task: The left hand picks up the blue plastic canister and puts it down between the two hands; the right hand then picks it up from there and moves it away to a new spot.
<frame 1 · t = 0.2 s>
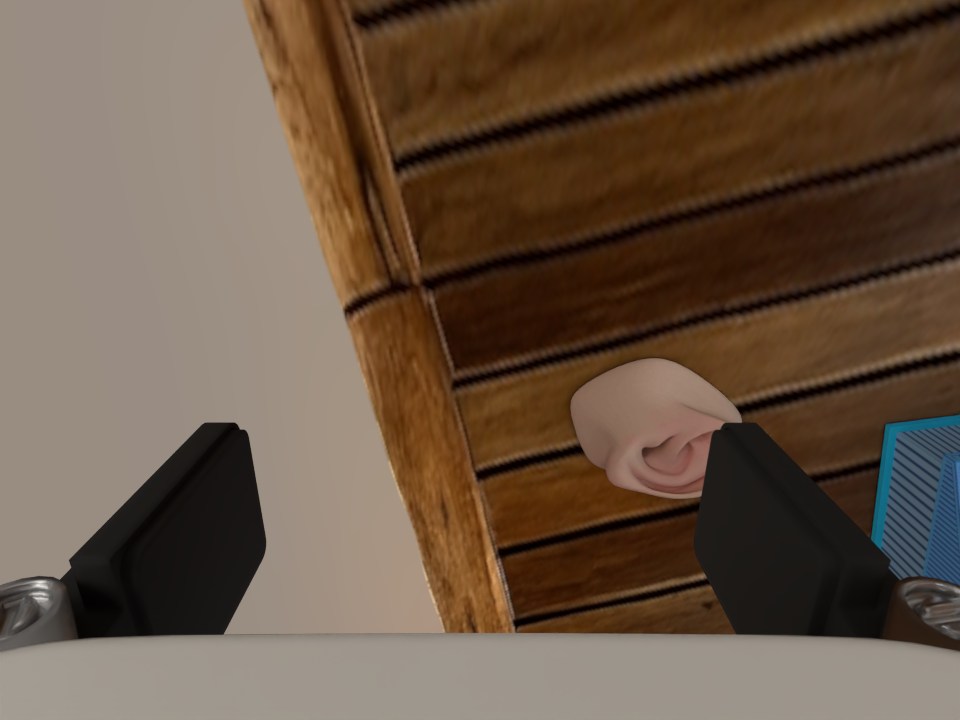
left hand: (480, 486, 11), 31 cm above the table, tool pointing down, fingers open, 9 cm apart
anatomical model: (651, 423, 46), on the table
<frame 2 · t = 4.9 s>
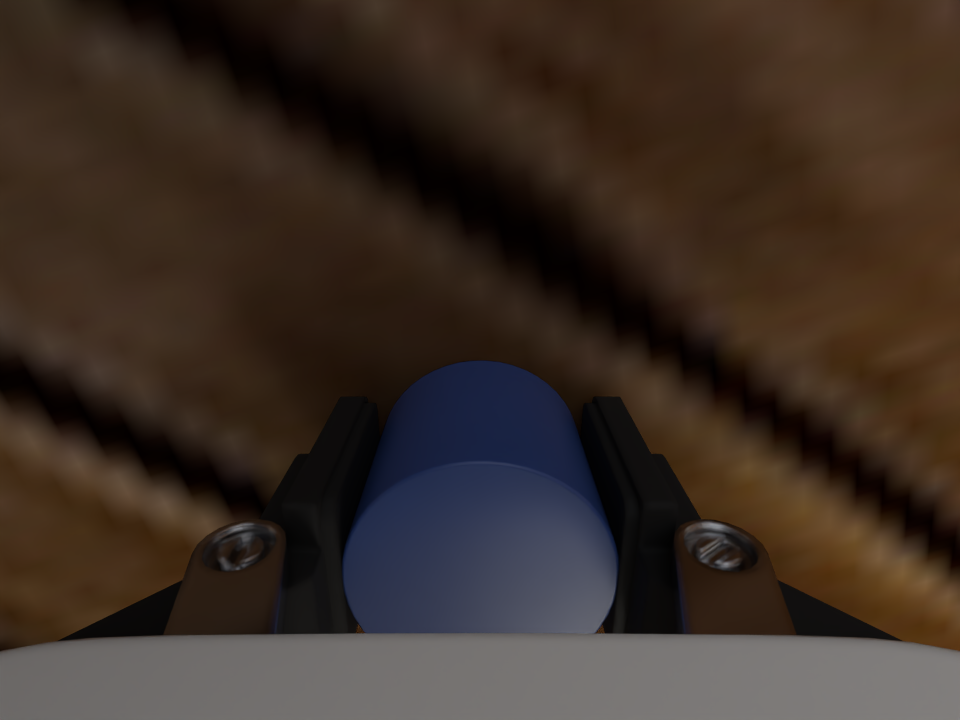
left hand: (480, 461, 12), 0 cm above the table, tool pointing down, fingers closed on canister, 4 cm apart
canister: (480, 450, 13), on the table, touching left hand
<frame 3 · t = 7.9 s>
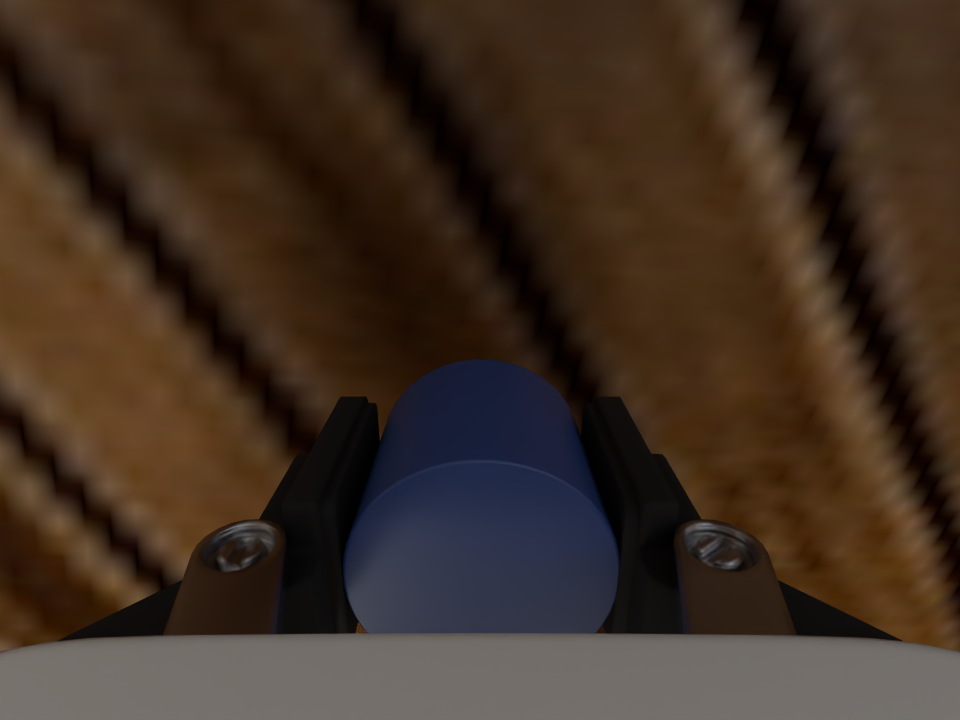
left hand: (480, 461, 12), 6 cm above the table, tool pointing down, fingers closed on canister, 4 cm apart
canister: (481, 449, 13), point 5 cm above the table, touching left hand
when the left hand's fingers open (1 cm above the table, at t = 10.8 s): canister stays where it is, on the table.
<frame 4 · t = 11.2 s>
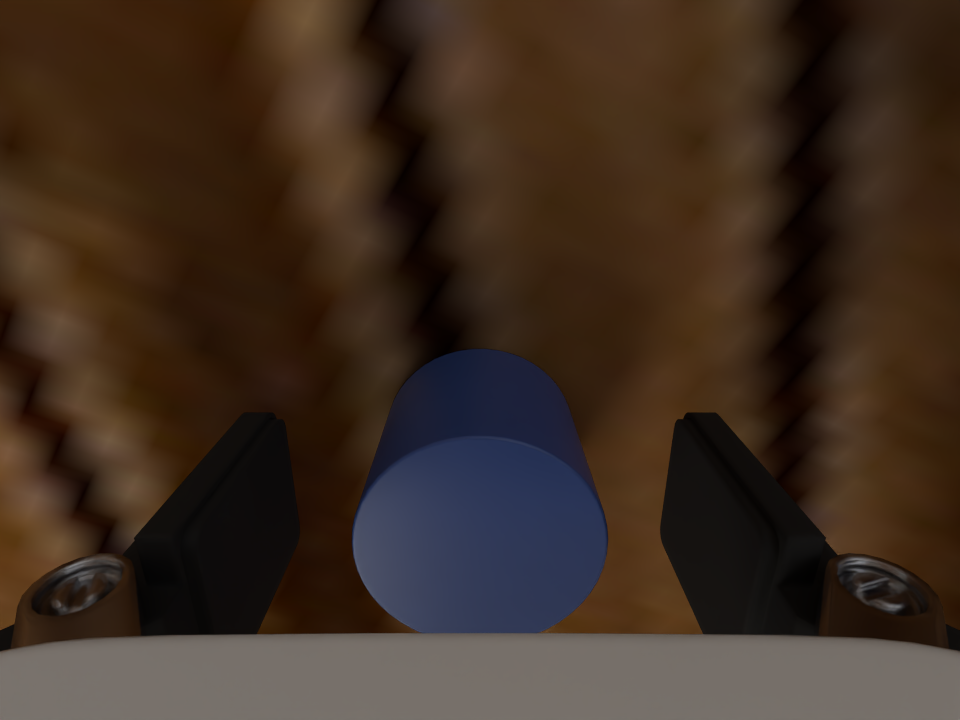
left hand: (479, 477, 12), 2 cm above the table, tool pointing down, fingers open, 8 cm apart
canister: (479, 434, 13), on the table
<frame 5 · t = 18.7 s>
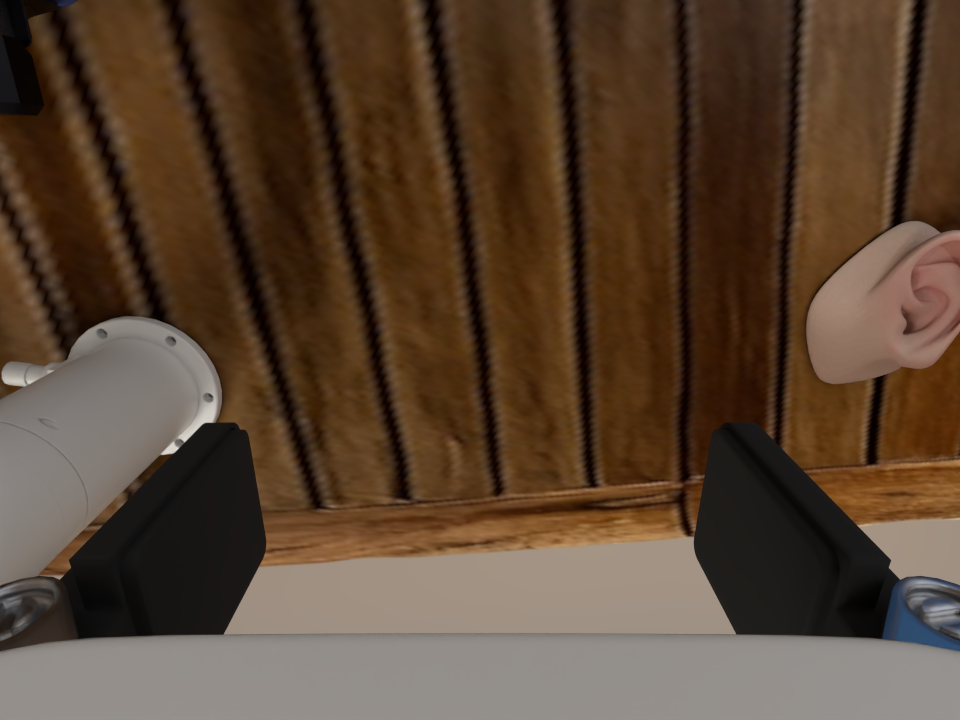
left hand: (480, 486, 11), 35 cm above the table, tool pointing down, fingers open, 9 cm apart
anatomical model: (878, 309, 46), on the table
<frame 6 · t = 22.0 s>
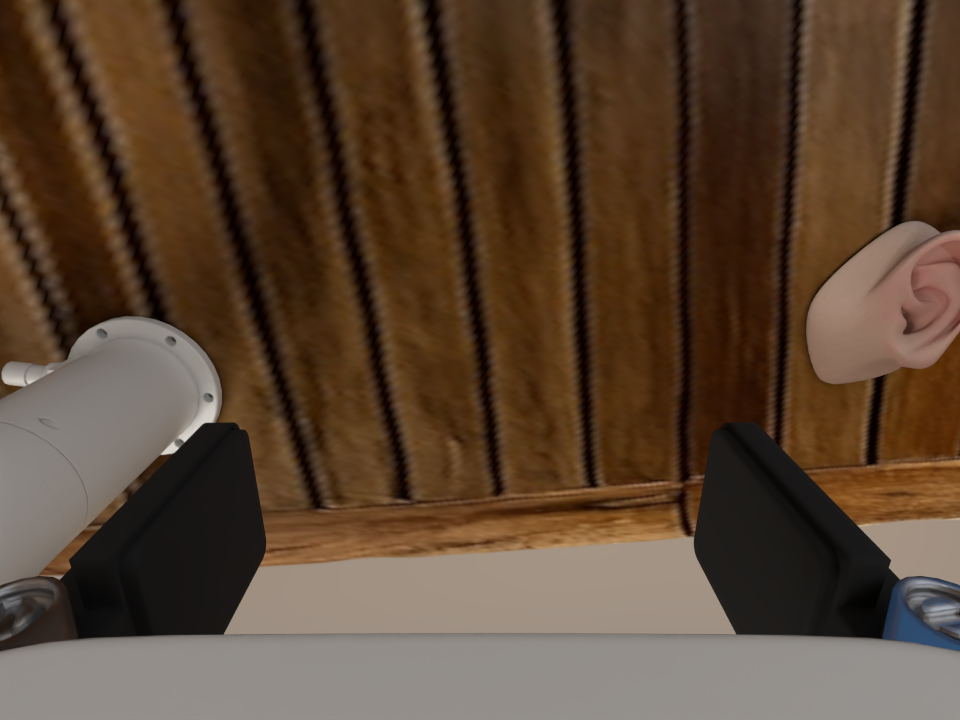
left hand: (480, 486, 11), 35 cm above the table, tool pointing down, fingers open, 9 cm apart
anatomical model: (878, 309, 46), on the table
when the right hand's fingers open (2 cm above the table, at t = 25.1 s): canister stays where it is, on the table.
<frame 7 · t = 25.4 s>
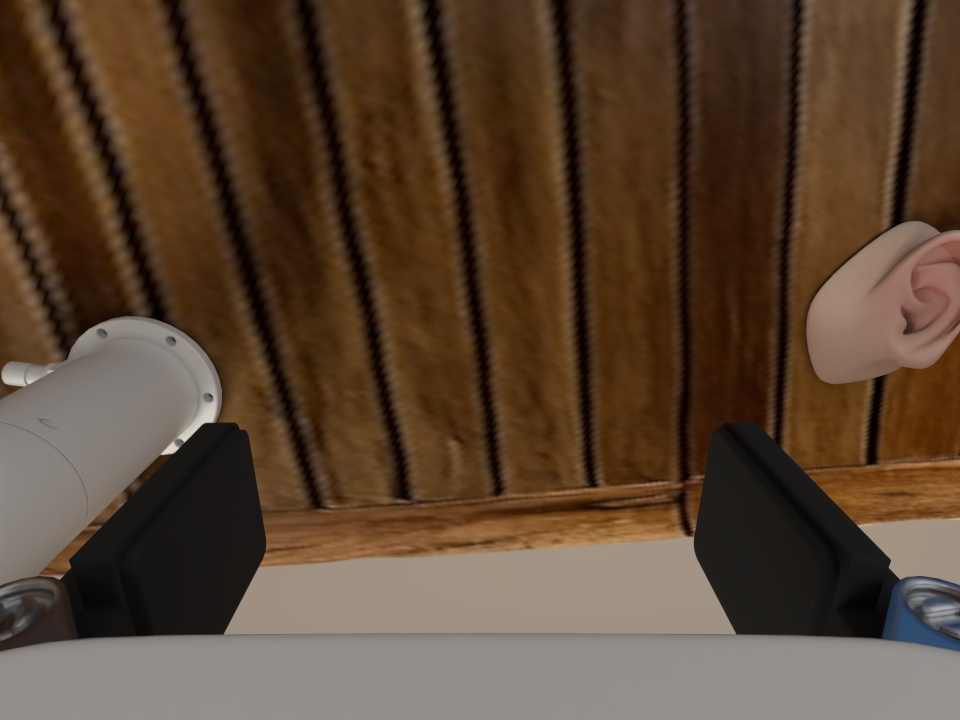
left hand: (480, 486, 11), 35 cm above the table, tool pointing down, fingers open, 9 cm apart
anatomical model: (878, 309, 46), on the table
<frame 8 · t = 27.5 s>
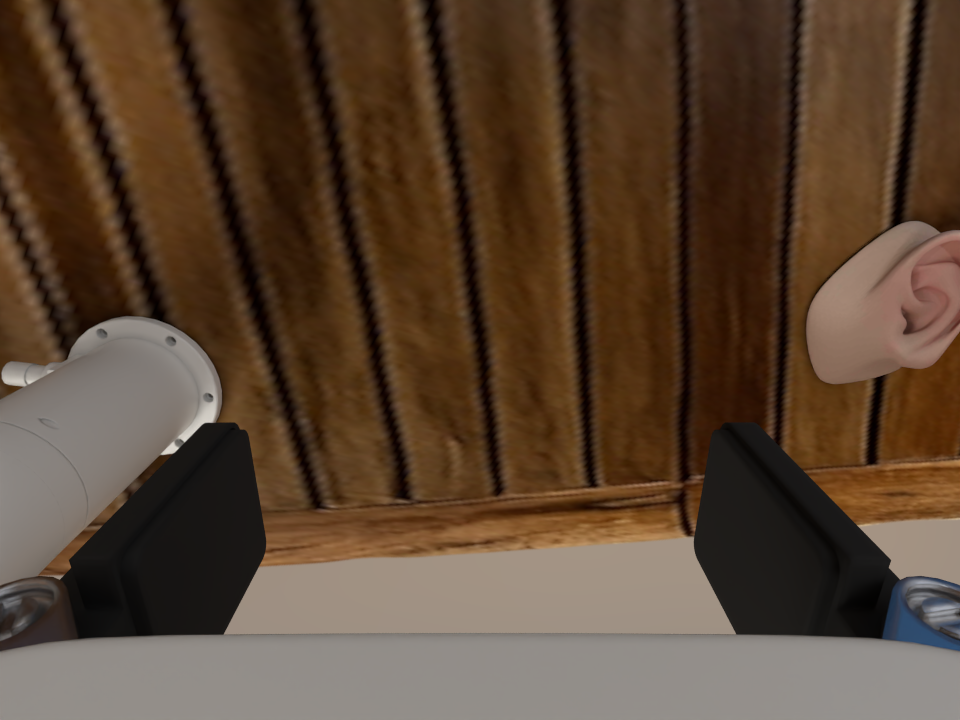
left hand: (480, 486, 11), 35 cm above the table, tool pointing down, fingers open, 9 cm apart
anatomical model: (878, 309, 46), on the table
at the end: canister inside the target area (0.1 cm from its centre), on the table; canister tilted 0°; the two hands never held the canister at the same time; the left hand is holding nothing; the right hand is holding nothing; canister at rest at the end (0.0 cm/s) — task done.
